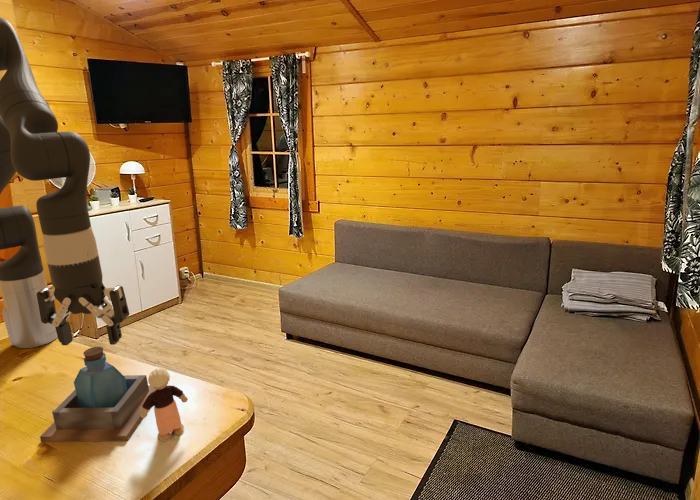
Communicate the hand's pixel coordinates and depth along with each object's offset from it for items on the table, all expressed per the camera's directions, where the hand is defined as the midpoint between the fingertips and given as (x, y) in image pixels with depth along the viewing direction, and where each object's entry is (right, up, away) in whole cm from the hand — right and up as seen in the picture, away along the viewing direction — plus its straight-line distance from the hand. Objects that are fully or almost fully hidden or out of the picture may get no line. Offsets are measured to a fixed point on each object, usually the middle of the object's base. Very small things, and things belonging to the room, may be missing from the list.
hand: (91, 343), depth 85 cm
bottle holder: (+1, -14, +4) cm, 15 cm away
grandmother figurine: (+14, -16, -2) cm, 21 cm away
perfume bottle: (+1, -13, +4) cm, 14 cm away
